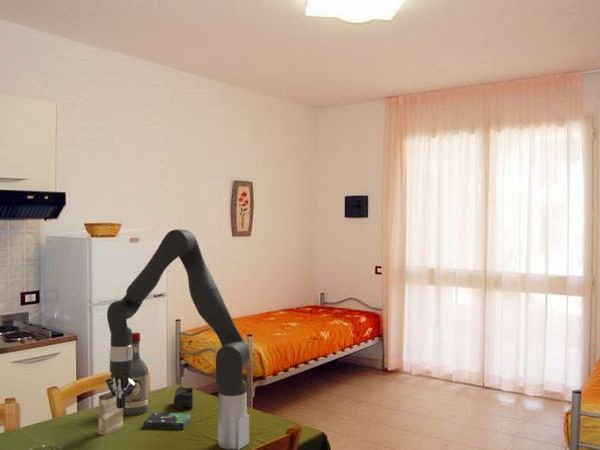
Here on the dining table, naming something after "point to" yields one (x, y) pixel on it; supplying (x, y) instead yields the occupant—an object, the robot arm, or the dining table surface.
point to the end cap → (183, 398)
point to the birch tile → (109, 414)
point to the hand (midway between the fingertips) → (120, 407)
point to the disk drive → (167, 420)
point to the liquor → (139, 374)
